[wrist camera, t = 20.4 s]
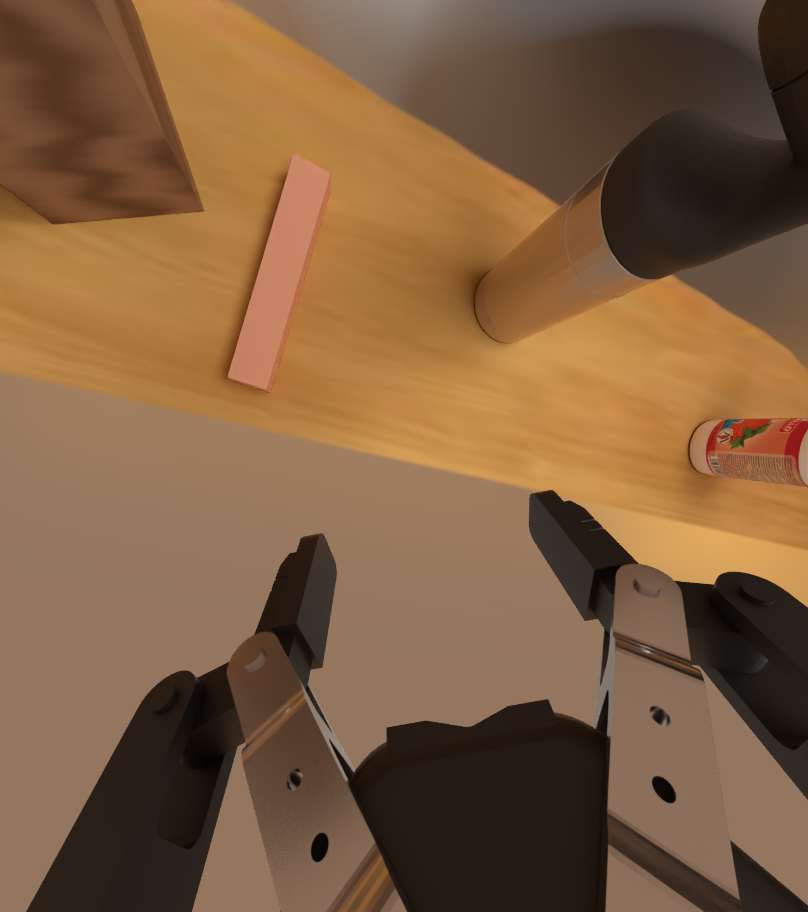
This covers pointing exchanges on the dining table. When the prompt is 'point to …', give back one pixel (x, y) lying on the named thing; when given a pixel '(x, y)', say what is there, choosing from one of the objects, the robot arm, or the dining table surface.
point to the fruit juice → (753, 449)
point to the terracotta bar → (281, 275)
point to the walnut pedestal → (86, 114)
